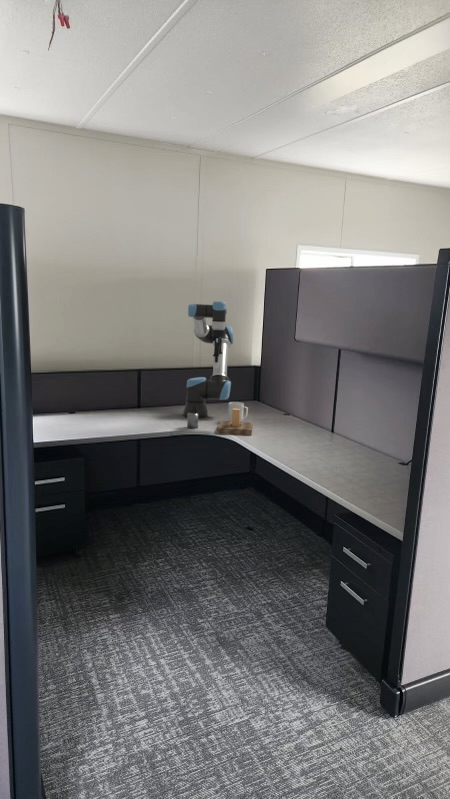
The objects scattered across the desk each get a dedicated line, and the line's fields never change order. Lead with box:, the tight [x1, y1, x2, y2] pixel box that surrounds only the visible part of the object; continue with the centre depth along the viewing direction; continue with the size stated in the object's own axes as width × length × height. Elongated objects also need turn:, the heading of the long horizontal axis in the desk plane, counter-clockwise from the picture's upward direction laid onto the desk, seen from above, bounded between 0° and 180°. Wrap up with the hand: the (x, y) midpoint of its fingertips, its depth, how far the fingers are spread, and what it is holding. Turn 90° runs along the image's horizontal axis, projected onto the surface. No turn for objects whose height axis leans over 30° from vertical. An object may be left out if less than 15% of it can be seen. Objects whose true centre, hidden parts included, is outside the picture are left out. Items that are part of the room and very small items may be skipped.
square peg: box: [232, 408, 240, 427], centre depth 297 cm, size 4×4×12 cm
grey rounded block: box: [186, 413, 199, 430], centre depth 300 cm, size 6×6×8 cm
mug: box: [227, 401, 249, 422], centre depth 317 cm, size 12×9×11 cm
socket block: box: [217, 420, 254, 436], centre depth 297 cm, size 18×18×3 cm
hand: (217, 366), depth 309 cm, fingers open, 13 cm apart
